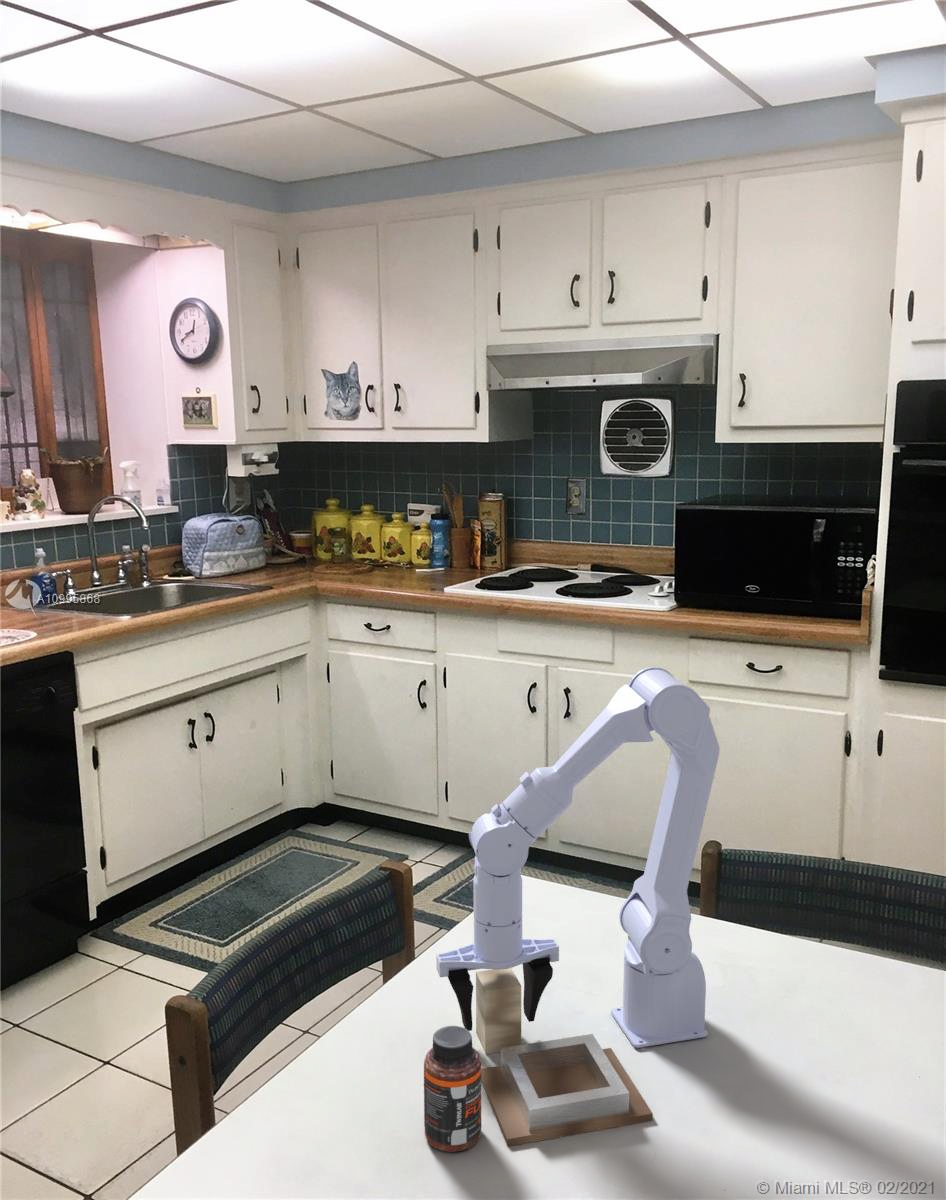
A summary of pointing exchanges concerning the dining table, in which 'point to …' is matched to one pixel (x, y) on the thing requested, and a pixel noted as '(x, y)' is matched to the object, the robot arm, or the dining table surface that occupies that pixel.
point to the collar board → (561, 1090)
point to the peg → (498, 1009)
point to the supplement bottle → (452, 1091)
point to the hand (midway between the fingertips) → (498, 1021)
